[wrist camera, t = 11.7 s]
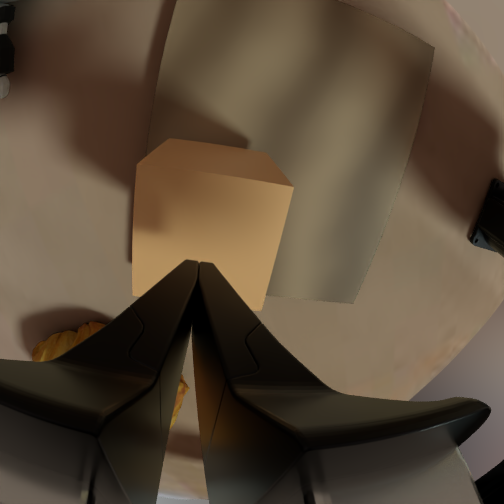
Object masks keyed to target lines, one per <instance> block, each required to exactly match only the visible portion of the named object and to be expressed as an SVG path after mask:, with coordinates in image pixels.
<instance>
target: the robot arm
mask: <svg viewBox="0 0 504 504" xmlns="http://www.w3.org/2000/svg"><path fill="white" fill-rule="evenodd" d="M470 242H471V243H472V244H473V245H474V246H478V247H481V248H484V249H488V250H491V251H494V252H498V253H499V254H500V255H501V256H503V257H504V183H503V182H501V181H499V180H498V179H493V181H492V183H491V186H490V189H489V192H488V195H487V198H486V201H485V203H484V206H483V209H482V211H481V214H480V217H479V219H478V222H477V224H476V227H475V229H474V232H473V234H472V236H471V239H470ZM191 327H192V350H193V364H194V377H195V389H196V400H197V411H198V421H199V430H200V439H201V447H202V455H203V463H204V471H205V478H206V485H207V491H208V498H209V504H504V460H503V461H502V462H501V463H499V464H498V465H497V466H495V467H494V468H493V469H491V470H490V471H489V472H487V473H486V474H485V475H483V476H482V477H481V478H479V479H478V480H476V481H474V480H473V477H472V475H471V473H470V470H469V468H468V466H467V464H466V462H465V460H464V458H463V456H462V453H461V451H460V449H459V446H460V445H461V444H462V443H463V442H464V441H466V440H467V439H468V438H469V437H470V436H471V435H472V434H473V433H474V432H475V431H477V429H479V428H480V427H481V425H482V424H483V423H484V422H485V421H486V420H487V418H488V417H489V415H490V413H491V408H490V407H489V406H488V405H487V404H485V403H483V402H481V401H479V400H477V399H472V398H464V397H454V398H449V399H445V400H440V401H429V402H413V401H399V400H388V399H379V398H370V397H362V396H354V395H347V394H343V393H340V392H337V391H335V390H333V389H331V388H330V387H328V386H327V385H326V384H324V383H323V382H322V381H321V380H320V379H318V378H317V377H316V376H315V375H314V374H313V373H312V372H311V371H309V370H308V369H307V368H306V367H305V366H304V365H303V364H302V363H301V362H299V361H298V360H297V359H296V358H295V357H294V356H293V355H292V354H291V353H290V352H289V351H288V350H287V349H286V348H285V347H284V346H282V345H281V344H280V343H279V341H278V340H277V339H276V338H275V337H274V336H273V335H272V334H271V333H270V332H269V330H268V329H267V328H266V327H265V326H264V324H262V323H261V321H260V320H259V319H258V317H257V316H256V315H255V314H254V313H253V311H252V310H251V309H250V308H249V307H248V305H247V304H246V303H245V302H244V300H243V299H242V298H241V297H240V296H239V294H238V293H237V292H236V291H235V289H234V288H233V287H232V286H231V285H230V283H229V282H228V281H227V280H226V278H225V277H224V276H223V275H222V273H221V272H220V271H219V270H218V268H217V267H216V266H215V265H214V264H213V263H211V262H204V261H201V262H200V263H199V262H198V261H196V260H189V259H186V260H184V261H183V262H182V263H180V264H179V265H178V266H177V267H176V268H174V269H173V270H172V271H171V272H169V273H168V274H167V275H166V276H165V277H163V278H162V279H161V280H160V281H159V282H158V283H156V284H155V285H154V286H153V287H152V288H150V289H149V290H148V291H147V292H146V293H144V294H143V295H142V296H141V297H140V298H139V299H137V300H136V301H135V302H134V303H133V304H132V305H130V307H128V308H127V309H126V310H124V311H123V312H122V313H121V314H120V315H118V316H117V317H116V318H115V319H113V320H112V321H111V322H110V323H108V324H107V325H105V326H104V327H103V328H101V329H100V330H98V331H97V332H95V333H94V334H92V335H91V336H89V337H88V338H86V339H85V340H83V341H82V342H80V343H79V344H77V345H76V346H74V347H73V348H71V349H70V350H68V351H67V352H65V353H64V354H62V355H60V356H59V357H57V358H54V359H52V360H48V361H42V362H34V361H19V360H6V359H0V504H156V500H157V495H158V489H159V483H160V477H161V472H162V466H163V461H164V456H165V450H166V445H167V440H168V435H169V430H170V425H171V420H172V415H173V410H174V406H175V401H176V396H177V392H178V387H179V382H180V378H181V373H182V369H183V365H184V360H185V356H186V351H187V347H188V343H189V339H190V334H191Z"/></svg>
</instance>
